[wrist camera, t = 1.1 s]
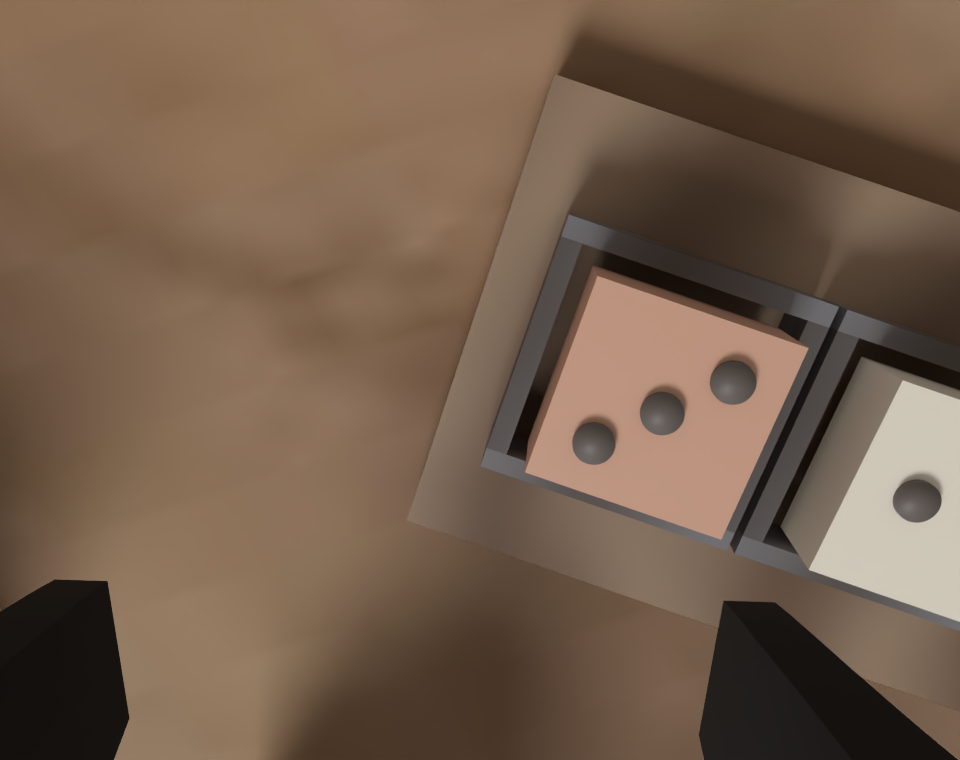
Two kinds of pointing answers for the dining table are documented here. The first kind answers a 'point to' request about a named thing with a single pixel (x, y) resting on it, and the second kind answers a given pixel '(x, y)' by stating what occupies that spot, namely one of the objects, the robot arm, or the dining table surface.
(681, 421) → the tile three
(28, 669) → the robot arm
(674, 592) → the panel
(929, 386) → the tile two
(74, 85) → the dining table surface
